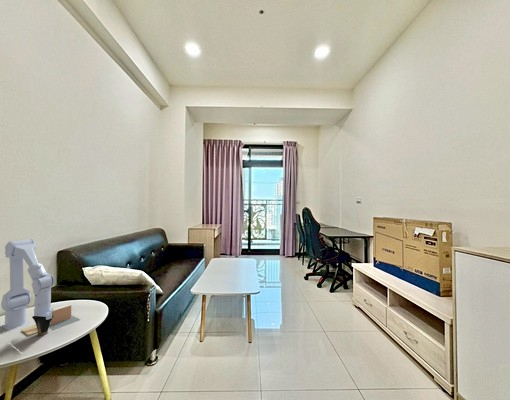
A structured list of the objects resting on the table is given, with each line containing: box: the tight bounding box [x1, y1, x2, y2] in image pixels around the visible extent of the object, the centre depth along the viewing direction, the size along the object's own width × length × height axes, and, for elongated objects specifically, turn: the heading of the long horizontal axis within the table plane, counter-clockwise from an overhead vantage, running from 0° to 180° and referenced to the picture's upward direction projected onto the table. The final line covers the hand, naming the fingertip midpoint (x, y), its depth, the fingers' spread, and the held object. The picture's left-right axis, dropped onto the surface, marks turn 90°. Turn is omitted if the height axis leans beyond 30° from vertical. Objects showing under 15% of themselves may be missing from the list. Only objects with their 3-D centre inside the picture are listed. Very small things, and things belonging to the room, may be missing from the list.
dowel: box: [37, 322, 49, 337], centre depth 113 cm, size 4×4×7 cm
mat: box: [48, 314, 81, 331], centre depth 125 cm, size 12×12×1 cm
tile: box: [50, 303, 72, 325], centre depth 126 cm, size 2×9×7 cm, turn 150°
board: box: [21, 324, 38, 337], centre depth 117 cm, size 9×7×1 cm
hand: (42, 330), depth 113 cm, fingers closed on dowel, 4 cm apart
